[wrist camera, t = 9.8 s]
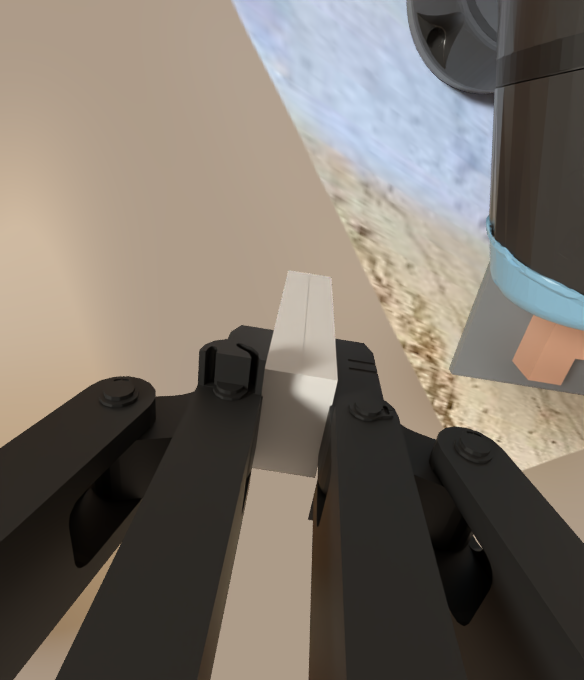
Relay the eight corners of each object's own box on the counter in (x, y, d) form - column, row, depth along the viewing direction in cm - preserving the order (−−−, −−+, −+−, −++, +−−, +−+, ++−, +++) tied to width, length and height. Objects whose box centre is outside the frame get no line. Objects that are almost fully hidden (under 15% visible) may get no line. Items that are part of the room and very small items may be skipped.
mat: (499, 235, 41) (504, 237, 40) (664, 261, 41) (674, 265, 40) (449, 368, 49) (451, 374, 48) (589, 391, 49) (595, 397, 48)
